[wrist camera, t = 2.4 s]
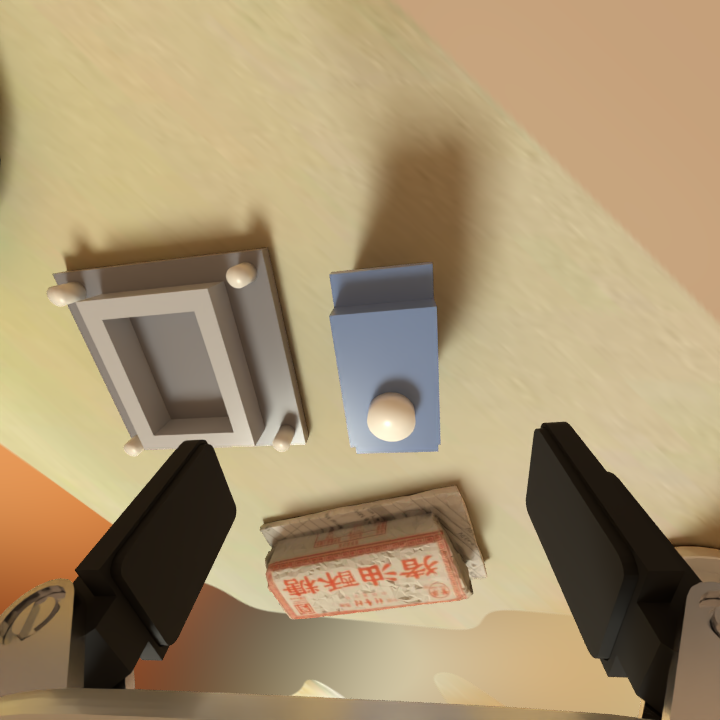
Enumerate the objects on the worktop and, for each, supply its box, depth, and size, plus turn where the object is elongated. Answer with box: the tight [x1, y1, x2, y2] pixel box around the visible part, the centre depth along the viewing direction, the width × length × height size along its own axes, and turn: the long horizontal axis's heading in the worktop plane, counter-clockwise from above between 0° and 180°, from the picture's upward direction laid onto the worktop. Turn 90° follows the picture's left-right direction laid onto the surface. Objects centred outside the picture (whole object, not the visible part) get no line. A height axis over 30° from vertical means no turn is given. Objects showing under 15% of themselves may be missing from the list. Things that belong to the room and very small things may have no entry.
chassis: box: [47, 248, 309, 456], centre depth 23 cm, size 14×14×3 cm
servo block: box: [329, 262, 440, 454], centre depth 18 cm, size 4×10×8 cm, turn 7°
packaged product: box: [260, 485, 487, 619], centre depth 29 cm, size 18×5×10 cm
